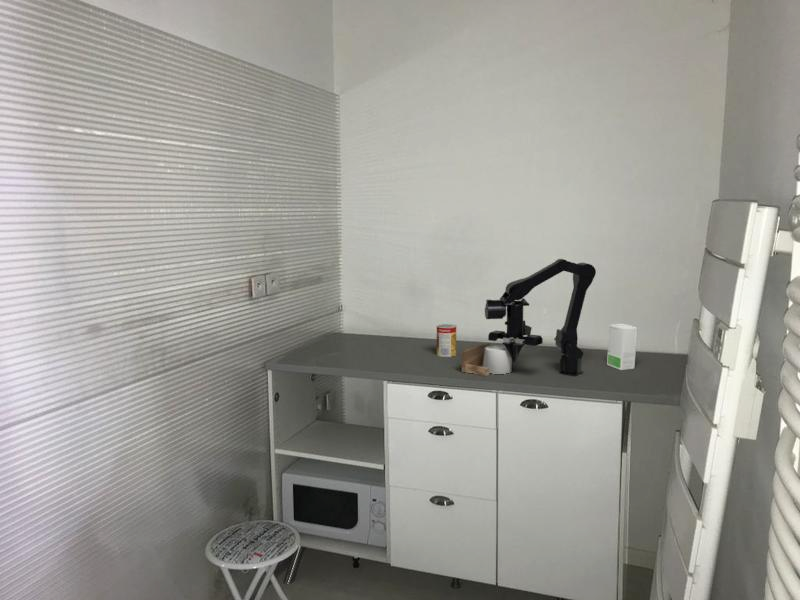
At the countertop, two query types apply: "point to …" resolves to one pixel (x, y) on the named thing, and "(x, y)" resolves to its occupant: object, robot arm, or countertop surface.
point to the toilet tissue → (497, 359)
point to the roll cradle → (474, 360)
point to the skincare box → (622, 346)
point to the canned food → (446, 340)
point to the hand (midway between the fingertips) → (514, 362)
